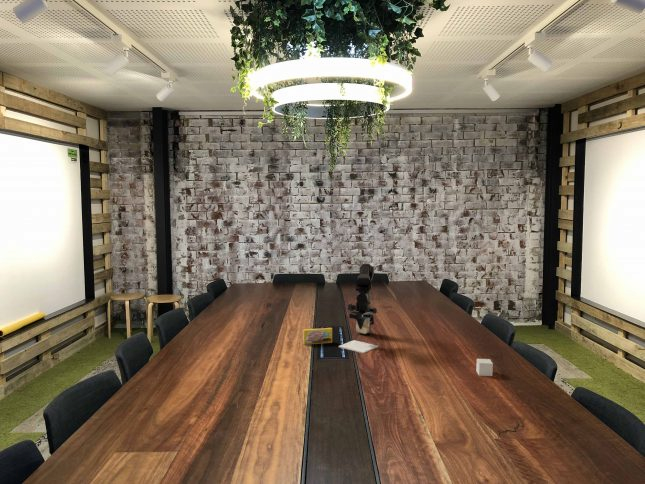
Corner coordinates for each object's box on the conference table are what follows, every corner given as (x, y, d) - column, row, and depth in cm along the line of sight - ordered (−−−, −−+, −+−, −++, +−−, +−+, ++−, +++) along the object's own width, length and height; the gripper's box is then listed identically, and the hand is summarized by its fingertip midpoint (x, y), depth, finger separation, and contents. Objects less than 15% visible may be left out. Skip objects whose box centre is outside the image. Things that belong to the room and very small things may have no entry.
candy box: (303, 345, 272) (303, 330, 271) (303, 344, 274) (303, 329, 273) (332, 343, 276) (332, 328, 275) (331, 341, 278) (331, 327, 277)
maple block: (360, 330, 274) (360, 315, 273) (369, 332, 271) (369, 317, 270) (356, 331, 271) (356, 317, 270) (365, 333, 268) (365, 319, 267)
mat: (353, 341, 279) (353, 340, 279) (377, 347, 269) (377, 345, 269) (338, 347, 268) (338, 346, 268) (363, 353, 258) (363, 352, 258)
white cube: (476, 371, 234) (476, 358, 234) (489, 371, 234) (489, 359, 233) (478, 375, 228) (479, 363, 228) (492, 376, 228) (492, 363, 227)
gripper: (360, 295, 281) (360, 322, 283) (340, 300, 267) (340, 329, 269) (377, 298, 274) (377, 325, 276) (358, 304, 260) (357, 333, 262)
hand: (362, 328), depth 271 cm, fingers closed on maple block, 4 cm apart
